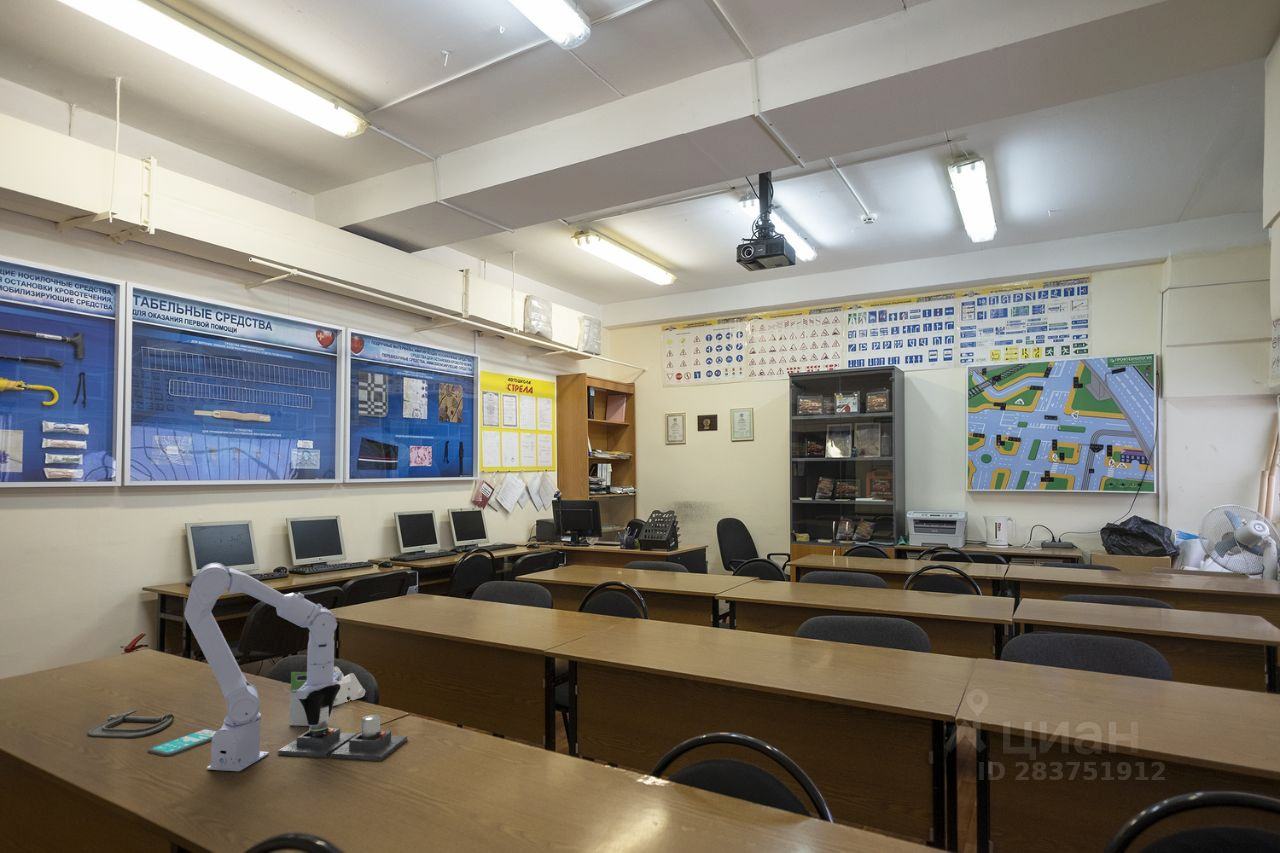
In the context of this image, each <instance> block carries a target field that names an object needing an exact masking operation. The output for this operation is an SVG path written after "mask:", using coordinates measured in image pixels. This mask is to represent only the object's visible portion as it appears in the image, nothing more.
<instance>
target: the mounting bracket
mask: <svg viewBox="0 0 1280 853" xmlns="http://www.w3.org/2000/svg"><path fill="white" fill-rule="evenodd" d="M334 672H342V671H341V669H340V667H338V666H336V665H335V666H334ZM337 684H339V685H340V690H339V692H338V693H337V695H336V698H335V700H334V703H333V706H332V707H335V706H339V705H342V704H345V702H346V703H348V701H349V702H351V701H350V700H352V701H355V700H357V699H361V698H363V697H364V696H365V693H366V689H365V688H363V686H362V685H361V683H360V681H359V680H358V678H357V677H356V675H355V673H354V672H350V673H349V674H347V675H345V676H344V673H342V680H341V681H338V683H337ZM347 698H349V700H348V699H347Z"/></svg>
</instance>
